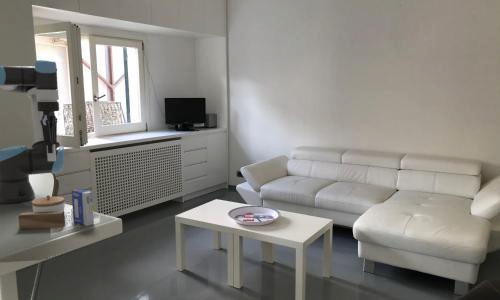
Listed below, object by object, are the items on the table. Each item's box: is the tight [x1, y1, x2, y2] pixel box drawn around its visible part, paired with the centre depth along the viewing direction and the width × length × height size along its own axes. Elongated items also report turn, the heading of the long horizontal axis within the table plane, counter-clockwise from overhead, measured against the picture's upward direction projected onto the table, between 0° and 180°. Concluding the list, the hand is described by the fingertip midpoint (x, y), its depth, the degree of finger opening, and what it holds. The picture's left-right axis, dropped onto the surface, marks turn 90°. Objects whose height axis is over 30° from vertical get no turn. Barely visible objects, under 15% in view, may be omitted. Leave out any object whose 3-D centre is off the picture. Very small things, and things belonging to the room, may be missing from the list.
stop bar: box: [17, 210, 66, 231], centre depth 139 cm, size 3×14×5 cm, turn 99°
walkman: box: [71, 188, 95, 227], centre depth 143 cm, size 8×3×12 cm, turn 59°
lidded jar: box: [31, 194, 66, 212], centre depth 147 cm, size 11×11×9 cm
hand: (52, 160), depth 159 cm, fingers closed
